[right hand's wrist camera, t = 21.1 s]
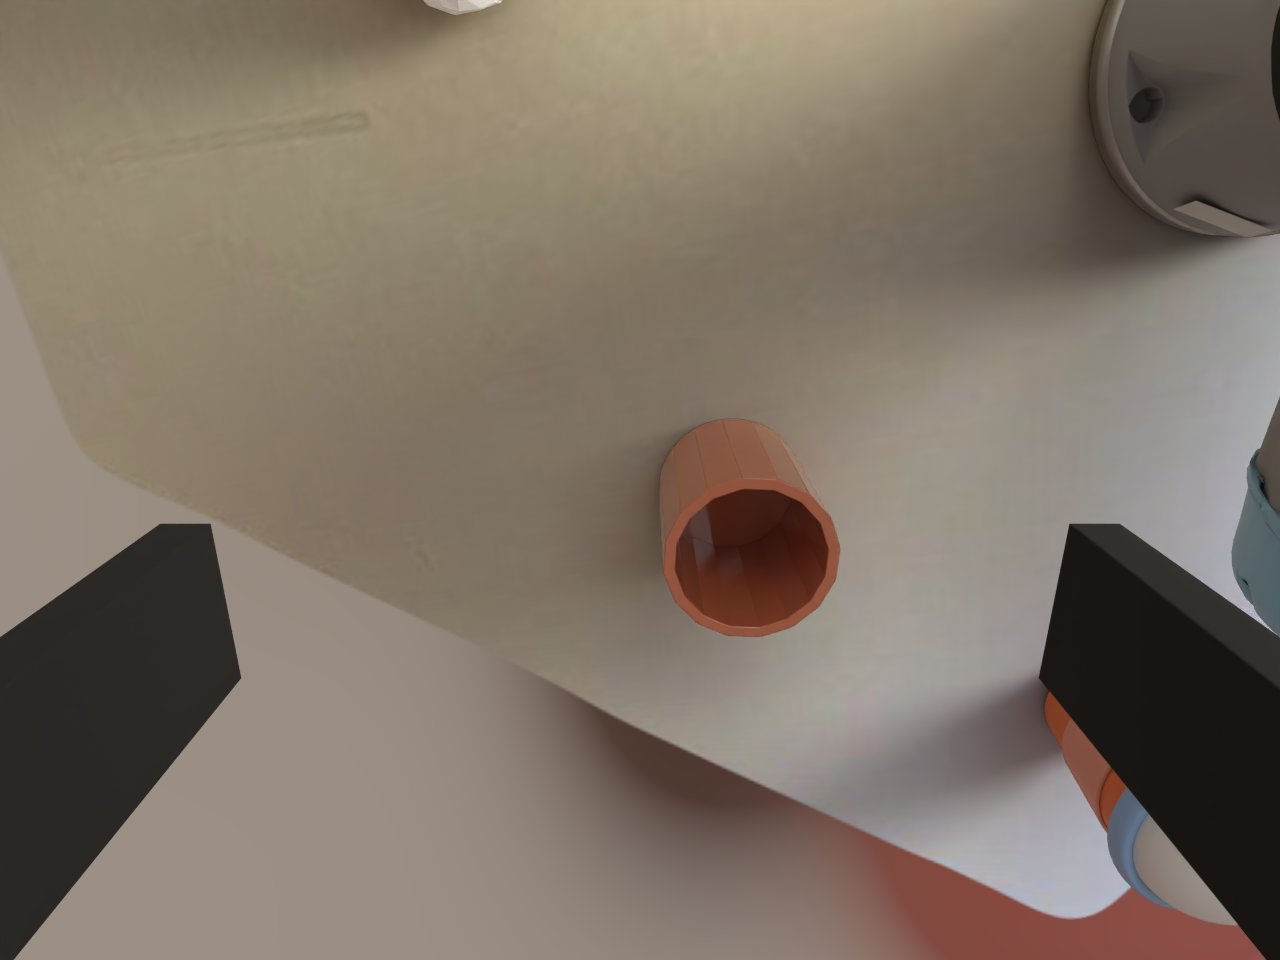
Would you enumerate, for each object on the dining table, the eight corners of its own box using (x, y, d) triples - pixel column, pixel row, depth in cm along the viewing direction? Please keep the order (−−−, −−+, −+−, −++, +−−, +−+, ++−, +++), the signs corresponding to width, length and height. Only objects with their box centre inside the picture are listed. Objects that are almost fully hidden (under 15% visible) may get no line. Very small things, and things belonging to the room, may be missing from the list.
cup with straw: (996, 753, 48) (1188, 1059, 31) (1048, 621, 45) (1291, 882, 28) (1141, 773, 49) (1407, 1086, 32) (1201, 644, 46) (1532, 915, 29)
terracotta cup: (697, 395, 41) (712, 449, 32) (825, 453, 42) (871, 521, 34) (636, 517, 43) (635, 598, 35) (758, 569, 44) (786, 660, 36)
